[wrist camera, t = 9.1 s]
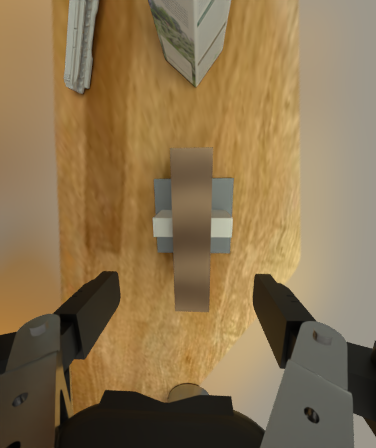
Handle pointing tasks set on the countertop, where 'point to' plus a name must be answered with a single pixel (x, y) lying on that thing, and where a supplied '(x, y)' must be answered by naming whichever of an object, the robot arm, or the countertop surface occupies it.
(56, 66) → the countertop surface
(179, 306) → the walnut bar
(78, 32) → the light grey flat bar
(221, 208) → the board
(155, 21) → the syrup box
